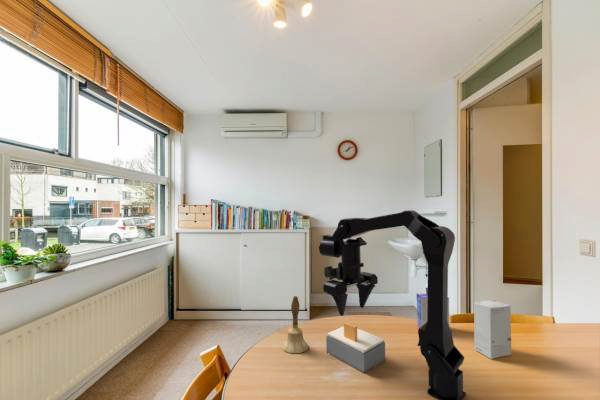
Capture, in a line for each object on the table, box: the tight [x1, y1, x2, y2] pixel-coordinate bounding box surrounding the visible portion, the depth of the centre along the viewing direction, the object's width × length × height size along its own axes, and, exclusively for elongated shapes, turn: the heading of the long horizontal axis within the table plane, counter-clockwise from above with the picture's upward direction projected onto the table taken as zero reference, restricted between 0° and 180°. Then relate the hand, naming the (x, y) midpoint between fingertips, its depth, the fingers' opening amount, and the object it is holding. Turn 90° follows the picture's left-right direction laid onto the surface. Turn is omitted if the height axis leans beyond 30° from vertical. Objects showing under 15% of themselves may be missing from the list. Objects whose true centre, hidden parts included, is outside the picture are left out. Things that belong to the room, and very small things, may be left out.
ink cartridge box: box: [416, 287, 450, 329], centre depth 102 cm, size 10×6×14 cm, turn 86°
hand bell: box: [281, 295, 309, 355], centre depth 91 cm, size 8×8×16 cm
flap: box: [326, 321, 385, 353], centre depth 85 cm, size 14×10×5 cm
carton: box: [325, 335, 386, 374], centre depth 85 cm, size 14×10×5 cm
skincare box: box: [473, 299, 512, 360], centre depth 87 cm, size 8×6×15 cm
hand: (352, 311), depth 86 cm, fingers open, 9 cm apart
